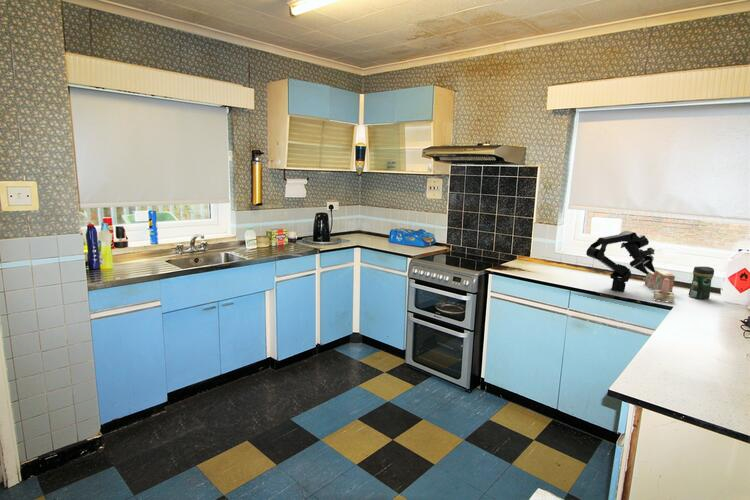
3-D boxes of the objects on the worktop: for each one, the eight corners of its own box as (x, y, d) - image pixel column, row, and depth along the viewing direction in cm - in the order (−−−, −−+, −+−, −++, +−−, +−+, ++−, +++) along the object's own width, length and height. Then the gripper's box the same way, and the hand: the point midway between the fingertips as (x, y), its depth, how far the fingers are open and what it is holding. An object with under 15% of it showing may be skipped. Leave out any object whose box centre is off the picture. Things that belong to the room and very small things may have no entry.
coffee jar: (700, 295, 254) (706, 265, 250) (711, 299, 246) (718, 268, 242) (685, 295, 253) (691, 264, 249) (695, 299, 245) (702, 268, 241)
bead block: (653, 300, 241) (655, 293, 240) (653, 296, 249) (654, 289, 248) (673, 303, 237) (674, 296, 236) (672, 299, 244) (673, 292, 243)
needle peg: (659, 299, 242) (663, 278, 240) (659, 298, 245) (663, 277, 242) (666, 300, 241) (670, 279, 238) (665, 299, 243) (669, 278, 241)
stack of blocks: (644, 284, 273) (647, 265, 271) (654, 285, 272) (658, 266, 270) (660, 294, 253) (663, 274, 250) (671, 295, 252) (675, 275, 249)
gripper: (638, 244, 242) (657, 267, 236) (652, 241, 253) (670, 263, 247) (622, 255, 250) (639, 278, 243) (636, 252, 261) (653, 273, 254)
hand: (651, 273), depth 247 cm, fingers open, 9 cm apart
